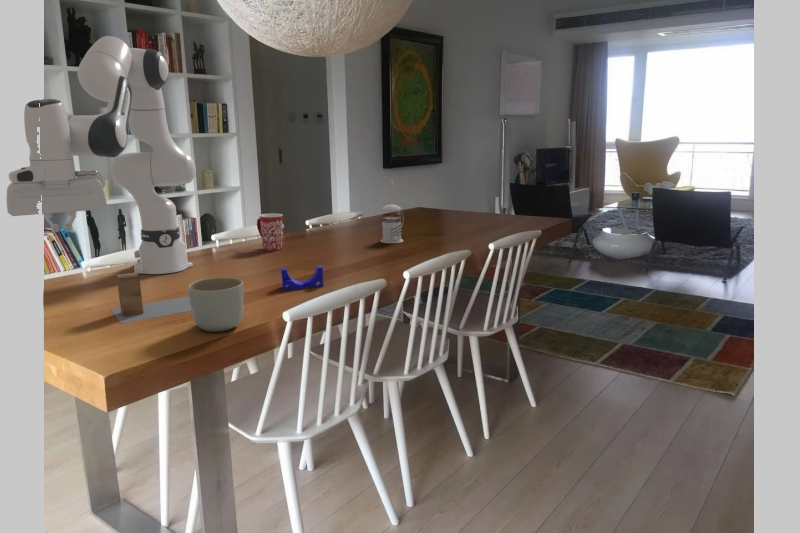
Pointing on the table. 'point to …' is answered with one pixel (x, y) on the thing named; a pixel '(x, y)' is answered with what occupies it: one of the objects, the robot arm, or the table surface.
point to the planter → (216, 303)
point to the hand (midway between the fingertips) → (62, 231)
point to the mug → (270, 231)
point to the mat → (157, 309)
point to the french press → (392, 224)
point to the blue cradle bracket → (302, 284)
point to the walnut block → (130, 294)
